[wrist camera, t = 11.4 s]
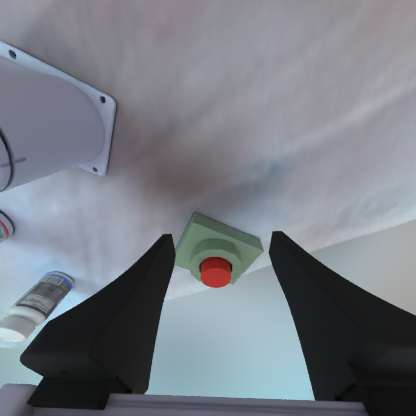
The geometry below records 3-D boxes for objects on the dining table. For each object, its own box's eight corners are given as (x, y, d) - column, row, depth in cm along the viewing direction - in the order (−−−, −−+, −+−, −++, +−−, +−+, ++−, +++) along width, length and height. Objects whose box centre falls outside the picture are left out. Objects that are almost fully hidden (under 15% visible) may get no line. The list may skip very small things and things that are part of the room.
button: (196, 270, 20) (195, 282, 19) (208, 252, 19) (208, 264, 17) (221, 278, 21) (222, 290, 20) (235, 262, 19) (236, 274, 18)
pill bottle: (63, 290, 30) (15, 345, 23) (40, 275, 28) (-20, 331, 21) (80, 283, 29) (35, 340, 22) (58, 267, 27) (0, 324, 19)
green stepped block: (174, 252, 24) (167, 274, 21) (194, 212, 20) (190, 231, 17) (231, 272, 26) (234, 296, 22) (259, 239, 22) (268, 261, 19)
